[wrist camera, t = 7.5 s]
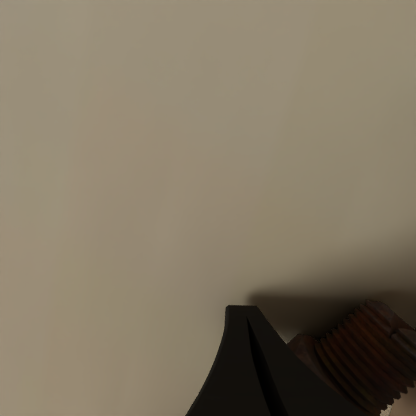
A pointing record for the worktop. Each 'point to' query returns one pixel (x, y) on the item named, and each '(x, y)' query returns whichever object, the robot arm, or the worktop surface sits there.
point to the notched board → (405, 403)
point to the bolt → (364, 357)
